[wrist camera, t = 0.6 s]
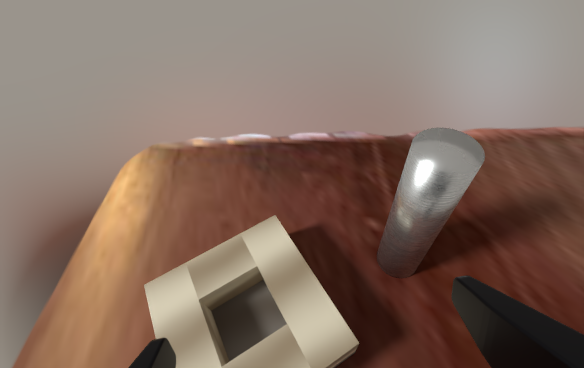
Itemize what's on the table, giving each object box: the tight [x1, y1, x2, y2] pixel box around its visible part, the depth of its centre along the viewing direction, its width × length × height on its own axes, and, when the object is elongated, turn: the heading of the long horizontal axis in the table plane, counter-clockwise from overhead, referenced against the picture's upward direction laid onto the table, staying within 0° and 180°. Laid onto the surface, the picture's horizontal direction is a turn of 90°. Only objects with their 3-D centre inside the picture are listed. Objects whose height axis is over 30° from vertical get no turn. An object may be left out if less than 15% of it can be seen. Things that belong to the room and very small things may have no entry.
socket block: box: [144, 215, 359, 368], centre depth 22 cm, size 12×12×4 cm
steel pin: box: [377, 128, 485, 278], centre depth 20 cm, size 4×4×14 cm
